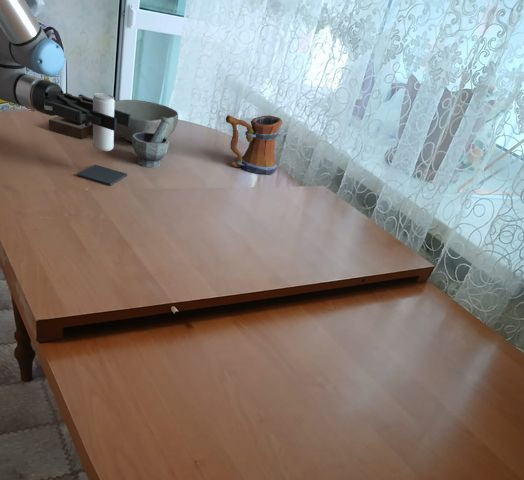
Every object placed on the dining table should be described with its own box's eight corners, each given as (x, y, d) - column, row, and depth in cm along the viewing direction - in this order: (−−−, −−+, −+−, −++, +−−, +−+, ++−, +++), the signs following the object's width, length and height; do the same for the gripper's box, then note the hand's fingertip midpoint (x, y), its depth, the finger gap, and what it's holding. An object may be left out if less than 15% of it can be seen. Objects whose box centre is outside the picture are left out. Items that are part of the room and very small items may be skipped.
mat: (76, 176, 134) (76, 173, 133) (95, 166, 141) (95, 164, 140) (110, 186, 133) (110, 183, 132) (127, 175, 140) (127, 173, 140)
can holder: (49, 130, 157) (48, 119, 155) (68, 123, 165) (68, 113, 163) (81, 139, 155) (81, 128, 154) (99, 132, 164) (99, 121, 162)
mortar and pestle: (146, 171, 145) (149, 125, 138) (124, 159, 149) (125, 113, 142) (177, 166, 153) (182, 122, 146) (155, 155, 157) (158, 111, 150)
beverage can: (114, 152, 132) (115, 100, 125) (93, 150, 130) (93, 97, 123) (112, 145, 135) (113, 94, 128) (92, 144, 134) (92, 92, 127)
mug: (226, 173, 155) (234, 119, 147) (213, 159, 163) (220, 107, 155) (282, 176, 163) (293, 124, 154) (267, 162, 171) (276, 112, 162)
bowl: (150, 129, 175) (152, 96, 169) (188, 151, 165) (192, 117, 159) (93, 132, 162) (93, 96, 157) (130, 156, 152) (132, 119, 146)
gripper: (66, 107, 141) (143, 132, 136) (15, 117, 127) (98, 146, 122) (65, 75, 137) (144, 100, 132) (12, 83, 123) (98, 111, 118)
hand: (122, 122), depth 127 cm, fingers closed on beverage can, 5 cm apart
